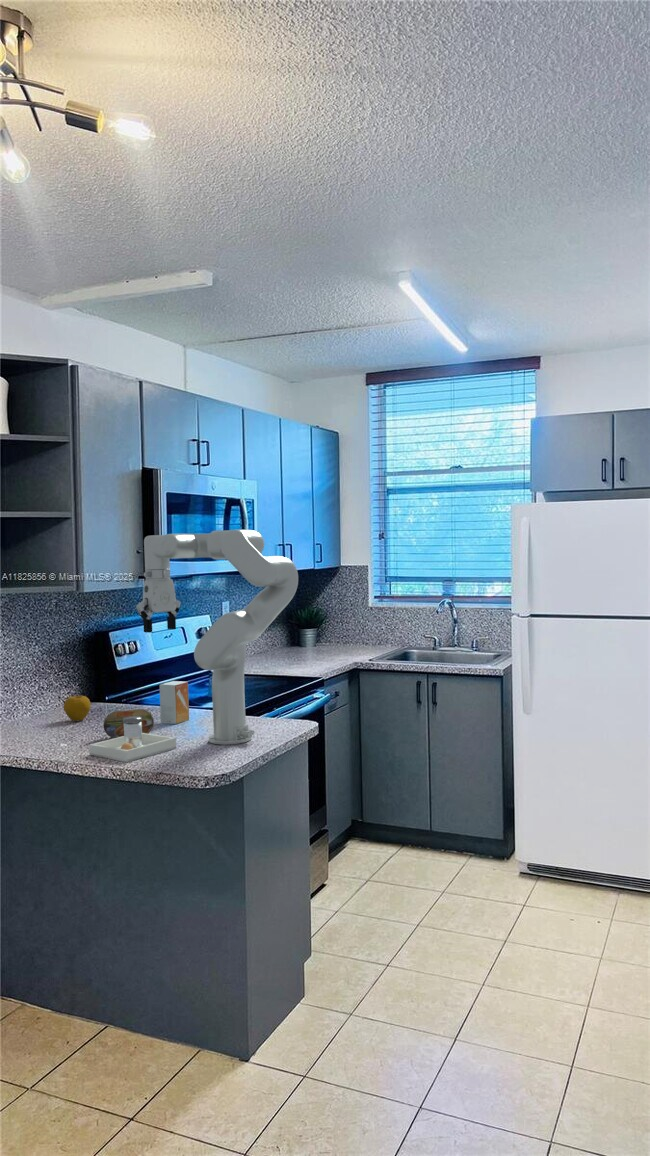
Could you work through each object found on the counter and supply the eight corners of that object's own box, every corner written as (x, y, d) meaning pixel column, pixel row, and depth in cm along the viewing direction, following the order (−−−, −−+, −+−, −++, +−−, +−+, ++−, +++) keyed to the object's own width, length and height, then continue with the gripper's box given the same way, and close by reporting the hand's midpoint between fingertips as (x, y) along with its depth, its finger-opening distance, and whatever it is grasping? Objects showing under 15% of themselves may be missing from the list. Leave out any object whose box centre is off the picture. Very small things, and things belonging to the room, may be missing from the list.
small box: (176, 724, 276) (175, 685, 275) (160, 723, 278) (158, 684, 278) (190, 719, 283) (188, 681, 283) (174, 718, 286) (172, 680, 285)
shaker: (146, 748, 240) (145, 717, 239) (132, 752, 236) (131, 720, 235) (134, 746, 243) (133, 715, 243) (120, 750, 239) (119, 718, 238)
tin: (104, 739, 257) (102, 712, 256) (104, 737, 260) (103, 710, 260) (154, 735, 260) (153, 708, 259) (154, 733, 263) (153, 707, 262)
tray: (176, 748, 242) (176, 737, 242) (127, 762, 227) (127, 751, 227) (139, 742, 251) (138, 732, 251) (89, 755, 237) (89, 744, 237)
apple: (74, 724, 281) (73, 697, 281) (58, 722, 287) (57, 695, 286) (96, 719, 288) (95, 693, 288) (80, 717, 294) (79, 691, 294)
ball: (136, 755, 232) (136, 742, 232) (126, 758, 229) (126, 745, 229) (128, 753, 234) (127, 741, 234) (118, 756, 231) (117, 743, 231)
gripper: (144, 576, 250) (146, 634, 250) (186, 574, 264) (188, 628, 264) (127, 576, 254) (130, 633, 255) (170, 574, 268) (172, 627, 269)
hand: (160, 630), depth 260 cm, fingers open, 9 cm apart
